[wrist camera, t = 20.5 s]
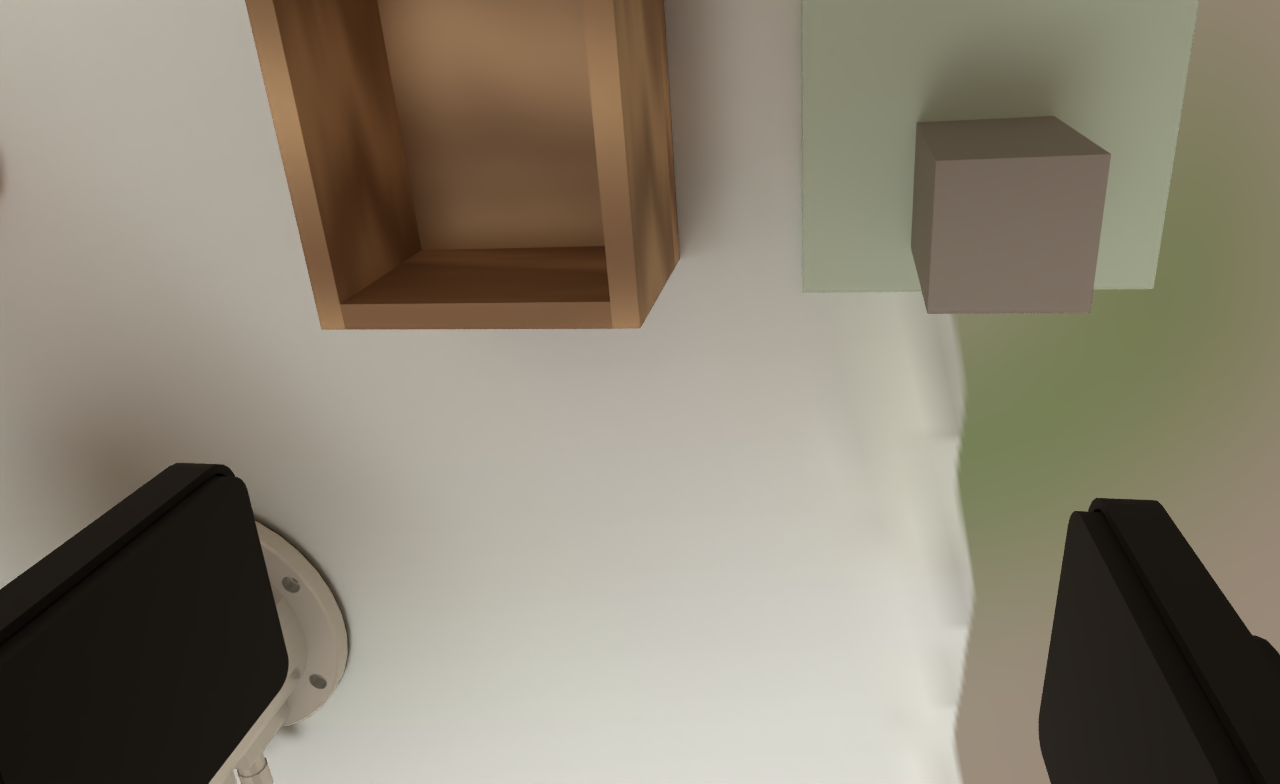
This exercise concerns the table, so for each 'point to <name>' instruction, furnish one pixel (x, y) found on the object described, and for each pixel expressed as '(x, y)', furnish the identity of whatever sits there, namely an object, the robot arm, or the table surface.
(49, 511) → the table surface
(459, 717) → the table surface
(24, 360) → the table surface
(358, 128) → the brown wooden open box
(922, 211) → the lid
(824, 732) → the table surface
